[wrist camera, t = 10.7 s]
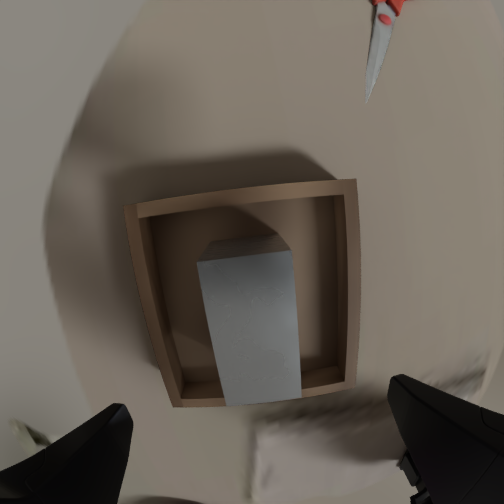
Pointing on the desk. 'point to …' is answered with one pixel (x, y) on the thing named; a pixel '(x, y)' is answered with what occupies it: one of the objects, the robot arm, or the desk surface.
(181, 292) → the walnut tray
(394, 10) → the scissors
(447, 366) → the desk surface
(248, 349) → the aluminium block
